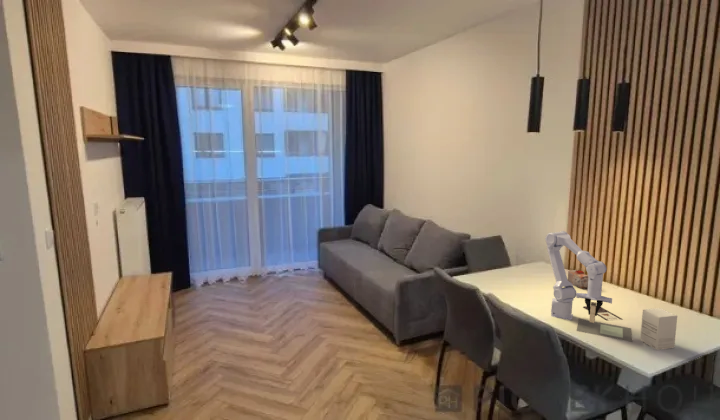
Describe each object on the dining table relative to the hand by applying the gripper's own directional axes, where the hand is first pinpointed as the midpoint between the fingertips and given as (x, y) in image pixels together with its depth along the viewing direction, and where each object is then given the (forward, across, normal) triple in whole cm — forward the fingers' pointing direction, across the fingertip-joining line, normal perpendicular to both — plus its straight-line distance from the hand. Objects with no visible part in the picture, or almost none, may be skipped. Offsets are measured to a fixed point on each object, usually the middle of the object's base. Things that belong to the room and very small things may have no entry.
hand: (592, 314), depth 190 cm
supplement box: (+8, +25, -2) cm, 26 cm away
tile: (+3, 0, 0) cm, 3 cm away
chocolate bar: (+8, +4, +24) cm, 26 cm away
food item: (+8, -10, +66) cm, 67 cm away
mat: (+8, +5, +2) cm, 9 cm away
